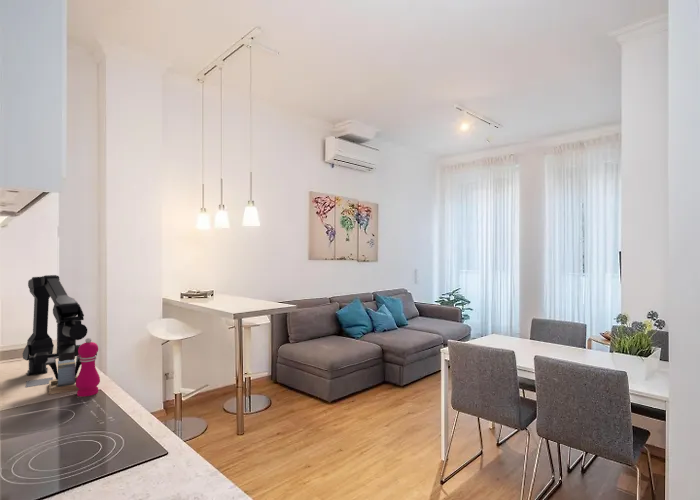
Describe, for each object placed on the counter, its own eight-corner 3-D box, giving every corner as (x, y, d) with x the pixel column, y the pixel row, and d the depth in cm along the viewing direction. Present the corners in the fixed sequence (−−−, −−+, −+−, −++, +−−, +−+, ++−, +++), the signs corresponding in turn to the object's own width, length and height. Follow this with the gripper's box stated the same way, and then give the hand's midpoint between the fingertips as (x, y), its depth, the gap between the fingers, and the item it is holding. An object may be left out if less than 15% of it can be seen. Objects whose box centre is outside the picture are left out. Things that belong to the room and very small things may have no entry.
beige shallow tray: (49, 385, 147) (49, 380, 147) (81, 380, 153) (81, 375, 153) (49, 395, 137) (49, 389, 137) (83, 389, 144) (83, 384, 143)
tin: (57, 385, 147) (57, 360, 146) (74, 382, 150) (74, 358, 149) (57, 390, 141) (57, 365, 141) (75, 387, 144) (75, 363, 144)
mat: (26, 382, 150) (26, 381, 150) (52, 378, 155) (52, 377, 155) (25, 388, 144) (25, 387, 144) (52, 384, 148) (52, 383, 148)
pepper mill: (104, 392, 141) (105, 337, 141) (83, 399, 135) (84, 341, 134) (91, 389, 144) (92, 334, 144) (70, 395, 138) (71, 338, 137)
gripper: (33, 344, 133) (32, 389, 133) (98, 337, 144) (98, 379, 144) (34, 337, 142) (34, 380, 142) (95, 331, 153) (95, 371, 153)
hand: (66, 378), depth 145 cm, fingers closed on tin, 5 cm apart
